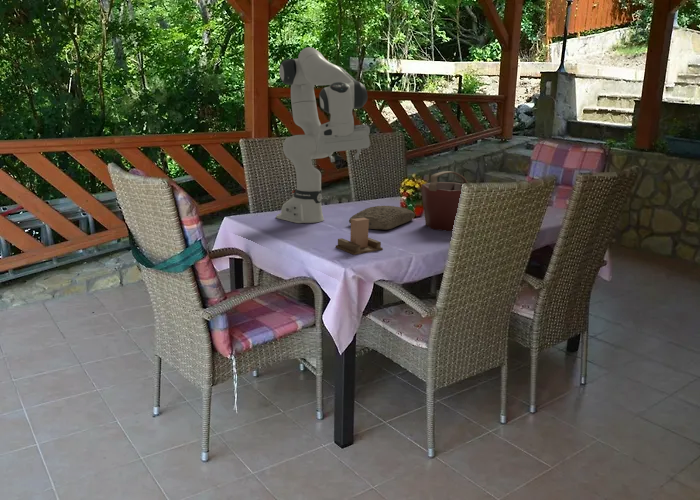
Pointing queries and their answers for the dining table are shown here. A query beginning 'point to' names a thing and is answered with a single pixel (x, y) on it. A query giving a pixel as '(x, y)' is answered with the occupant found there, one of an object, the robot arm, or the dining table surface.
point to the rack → (358, 246)
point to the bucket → (441, 201)
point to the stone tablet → (385, 216)
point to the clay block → (359, 231)
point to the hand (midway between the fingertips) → (344, 160)
